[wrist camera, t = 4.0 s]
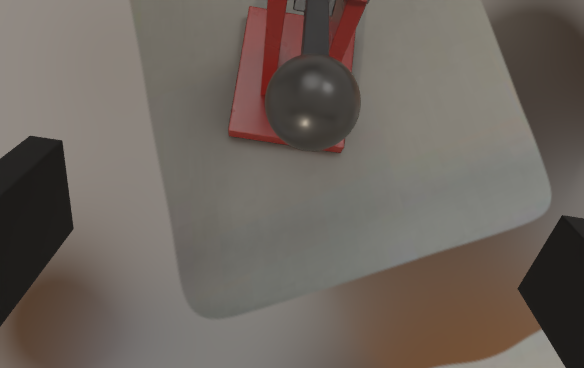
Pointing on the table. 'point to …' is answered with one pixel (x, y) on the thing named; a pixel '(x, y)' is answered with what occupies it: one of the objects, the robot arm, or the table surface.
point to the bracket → (282, 60)
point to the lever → (313, 88)
